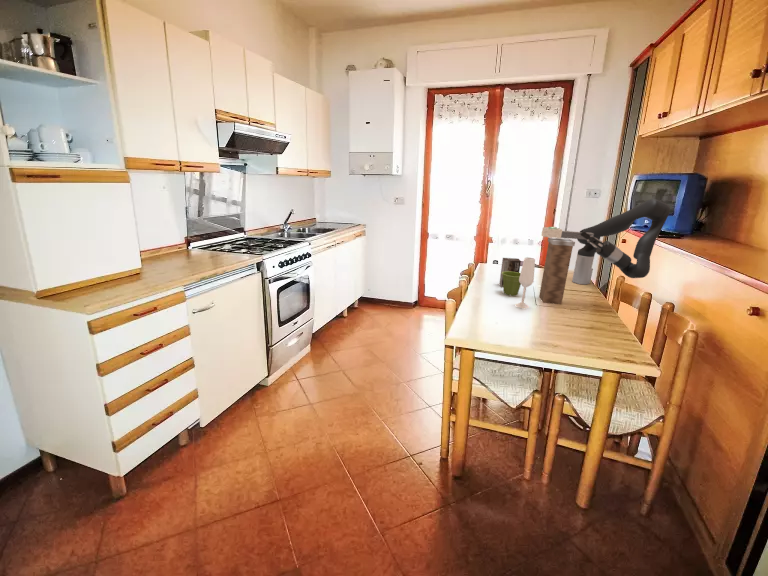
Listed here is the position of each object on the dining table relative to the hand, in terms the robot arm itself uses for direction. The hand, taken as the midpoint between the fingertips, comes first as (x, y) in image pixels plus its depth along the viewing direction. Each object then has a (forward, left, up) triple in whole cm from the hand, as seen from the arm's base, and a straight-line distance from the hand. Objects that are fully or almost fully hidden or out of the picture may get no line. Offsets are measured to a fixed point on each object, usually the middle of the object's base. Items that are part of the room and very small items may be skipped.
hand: (581, 232), depth 186 cm
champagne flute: (+28, +4, -36) cm, 46 cm away
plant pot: (+24, -15, -36) cm, 46 cm away
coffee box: (+18, -29, -36) cm, 50 cm away
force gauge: (+5, -2, -3) cm, 6 cm away
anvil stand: (+8, -3, -36) cm, 37 cm away
